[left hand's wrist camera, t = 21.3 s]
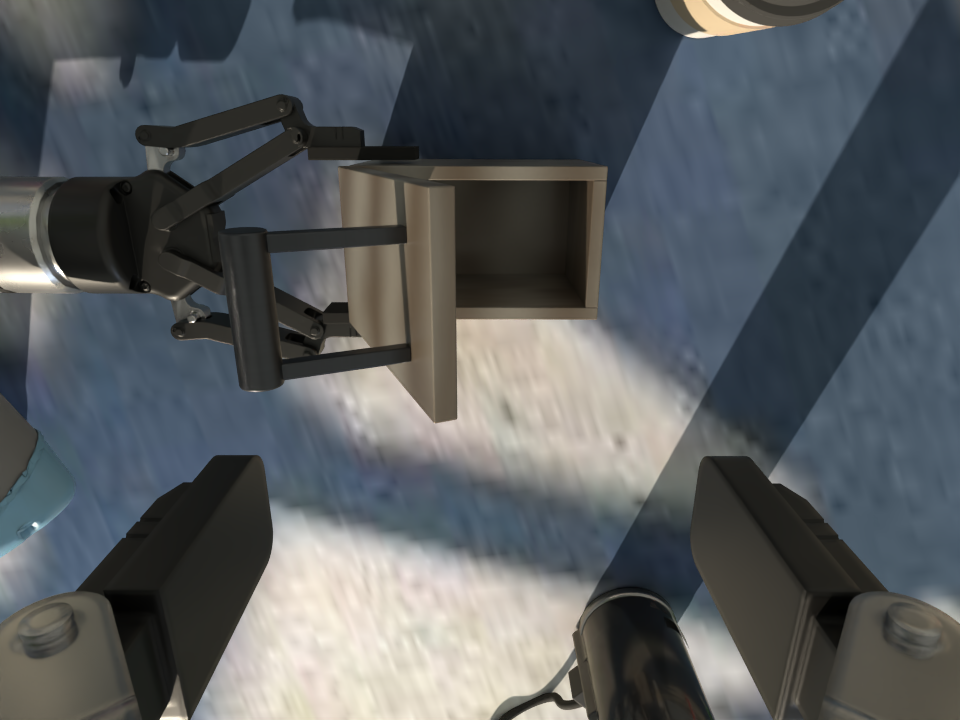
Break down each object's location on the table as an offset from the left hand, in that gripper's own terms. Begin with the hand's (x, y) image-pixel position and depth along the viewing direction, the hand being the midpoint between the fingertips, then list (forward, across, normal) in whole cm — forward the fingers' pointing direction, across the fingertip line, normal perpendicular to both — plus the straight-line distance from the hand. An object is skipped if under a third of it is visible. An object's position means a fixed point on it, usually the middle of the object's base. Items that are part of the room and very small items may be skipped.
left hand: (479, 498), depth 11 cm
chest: (+38, 0, 0) cm, 38 cm away
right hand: (+31, +4, 0) cm, 31 cm away
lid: (+20, +4, 0) cm, 21 cm away
